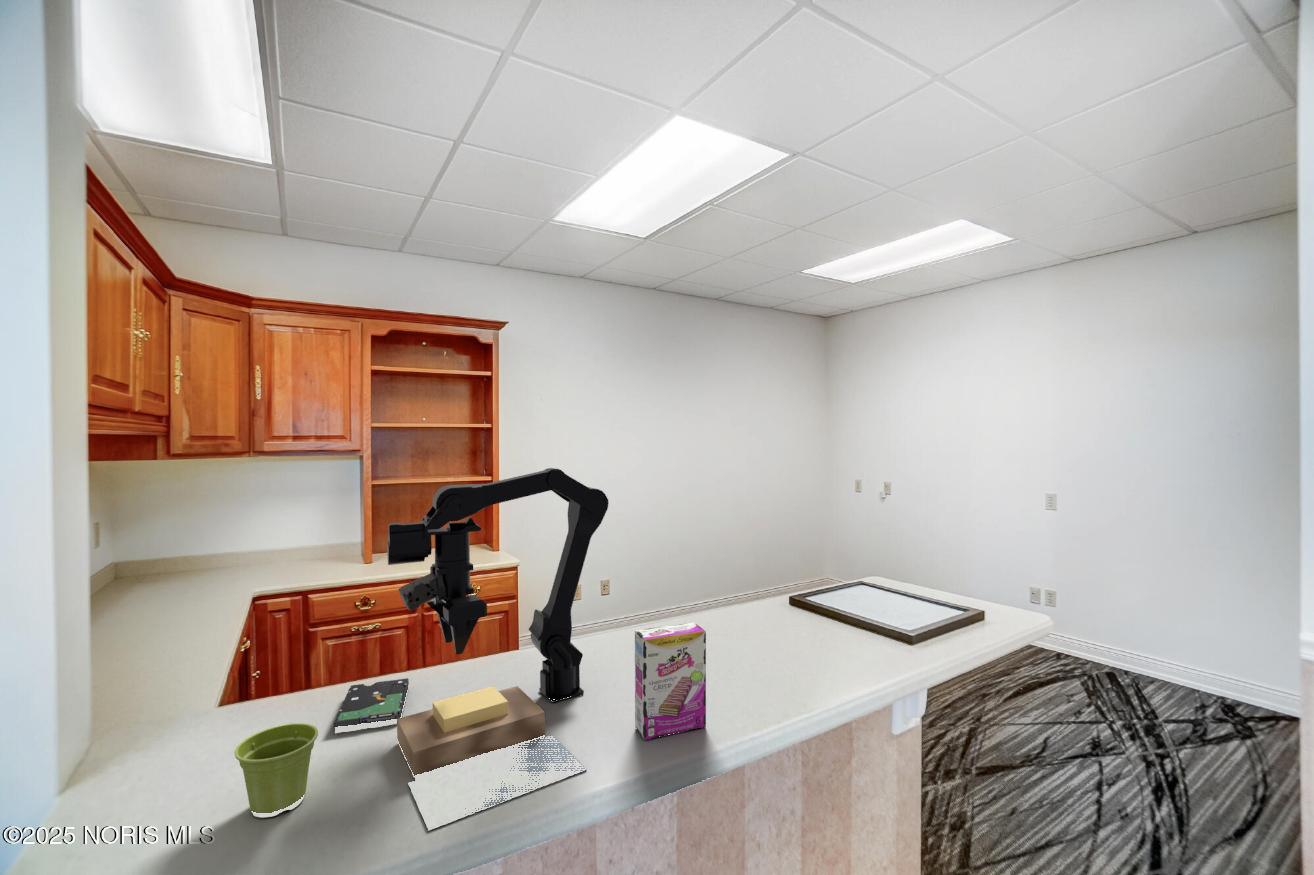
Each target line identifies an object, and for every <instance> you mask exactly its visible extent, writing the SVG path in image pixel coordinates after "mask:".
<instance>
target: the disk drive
mask: <svg viewBox="0 0 1314 875" xmlns="http://www.w3.org/2000/svg"><path fill="white" fill-rule="evenodd" d="M409 682H410V680H409V677H408V678H399V679H392V680H383V681H377V682H374V683H373V684H371V685H366V684H364V683H361V684H360V683H359V684H353V685H350V687H349V688H348V690H347V693H346V695H345V697H344V700H343V702H342V704H341V706H340V708H339V711H338V712H337V714H336V716H335V719H334V720H333V728H334V727H338V726H348V725H357V724H361V723H371V722H376V721H377V722H378V721H386V720H391V719H398V718H400V717H401V713H402V709H403V705H404V701H405V697H406V693H407V690H408V685H409ZM408 691H409V690H408Z"/></svg>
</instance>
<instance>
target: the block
mask: <svg viewBox="0 0 1314 875" xmlns="http://www.w3.org/2000/svg"><path fill="white" fill-rule="evenodd" d="M499 691H500V690H498V689H497V688H496V687H495V686H489V687H484V688H482V689H478V690H474V691H471V692H467V693H463V694H459V695H455V696H452V697H447V698H444V699H441V700H436V701H432V709H433V716H434V717H435V719H436V721H437V722H438V724H439V725H440V727H441V728H442V730H443V732H444V733H445V732H448V731H452V730H455V729H459V728H462V727H465V726H469V725H472V724H475V723H479V722H482V721H485V720H489V719H492V718H495V717H499V716H502V715H506V714H508V701H507V700H506V699H505V698H504V697H503V696H502V695H501V694H500V692H499Z"/></svg>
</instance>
